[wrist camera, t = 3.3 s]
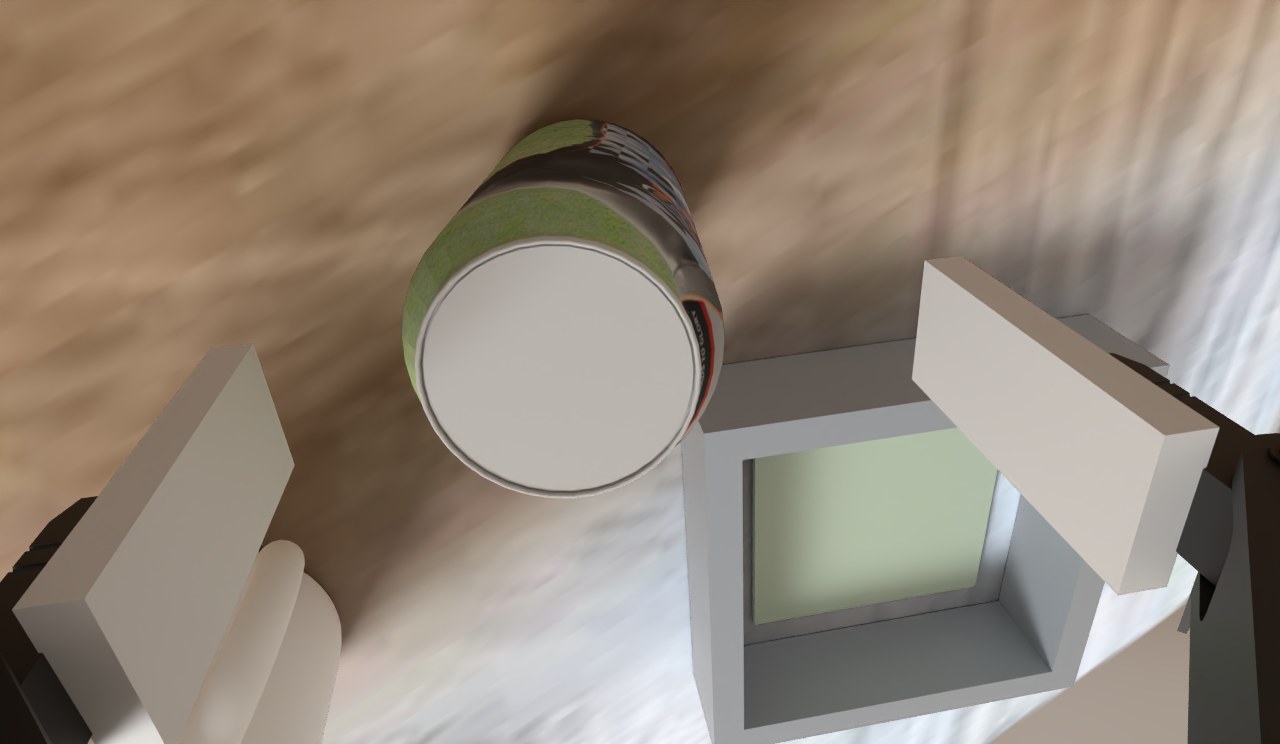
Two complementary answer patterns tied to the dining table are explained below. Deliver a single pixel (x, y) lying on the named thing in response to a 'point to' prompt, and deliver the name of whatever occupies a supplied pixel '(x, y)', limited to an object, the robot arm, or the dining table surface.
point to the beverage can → (566, 316)
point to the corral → (865, 550)
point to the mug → (271, 660)
